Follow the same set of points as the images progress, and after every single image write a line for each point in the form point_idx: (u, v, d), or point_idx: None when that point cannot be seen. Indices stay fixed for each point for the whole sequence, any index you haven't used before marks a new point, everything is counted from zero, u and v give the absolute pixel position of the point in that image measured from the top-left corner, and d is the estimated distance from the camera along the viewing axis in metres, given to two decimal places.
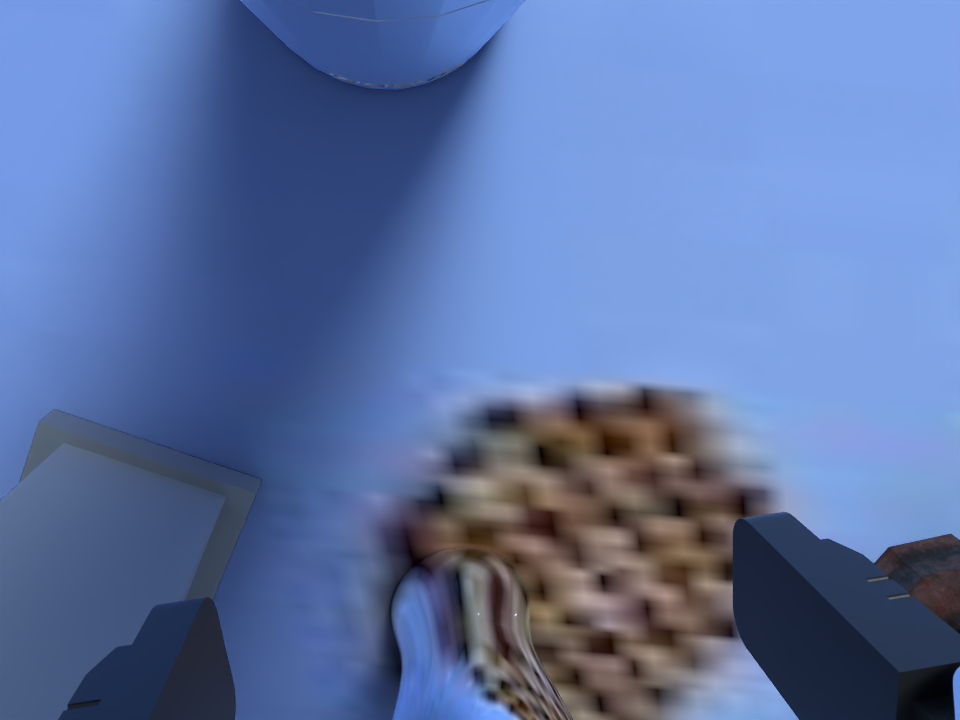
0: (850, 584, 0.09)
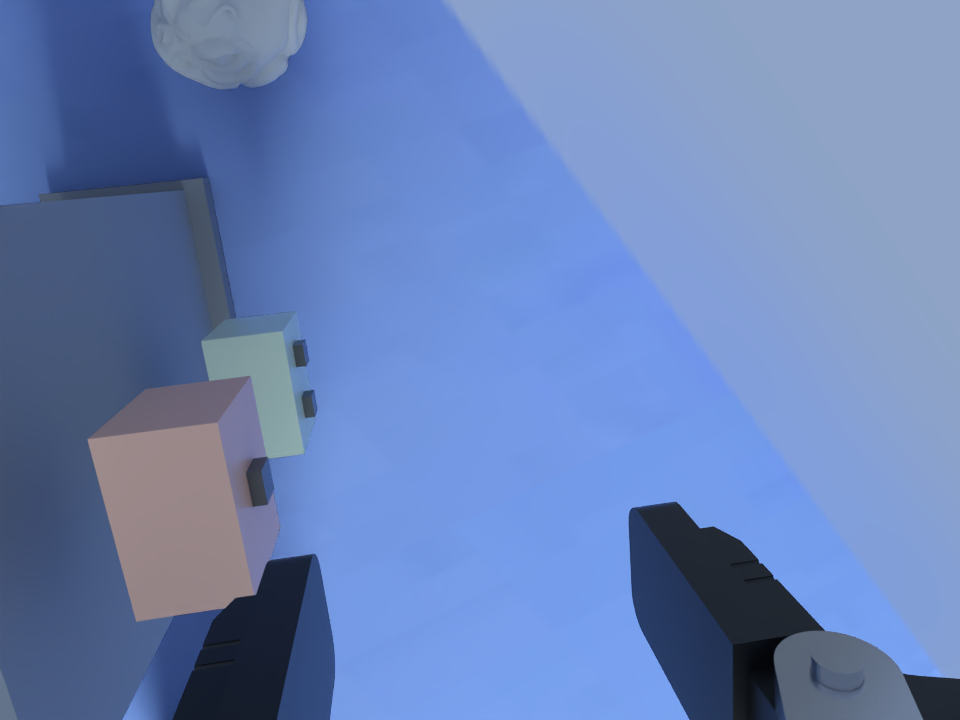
0: (713, 567, 0.09)
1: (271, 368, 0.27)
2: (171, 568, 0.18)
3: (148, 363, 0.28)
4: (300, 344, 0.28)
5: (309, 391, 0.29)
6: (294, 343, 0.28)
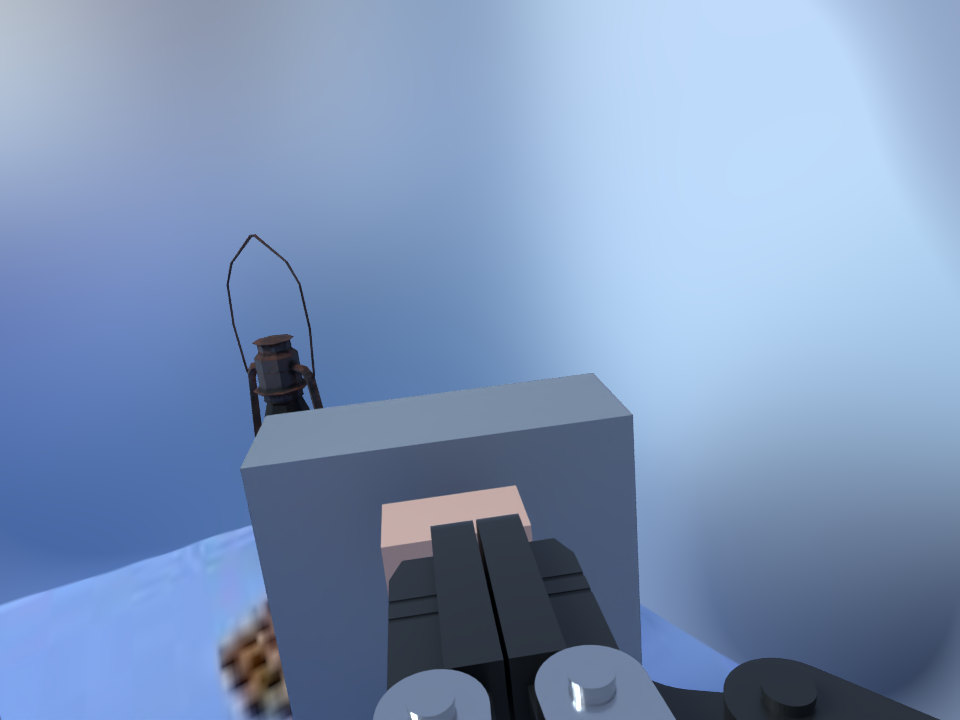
0: (524, 579, 0.09)
1: None
2: (419, 514, 0.25)
3: None
4: None
5: None
6: None
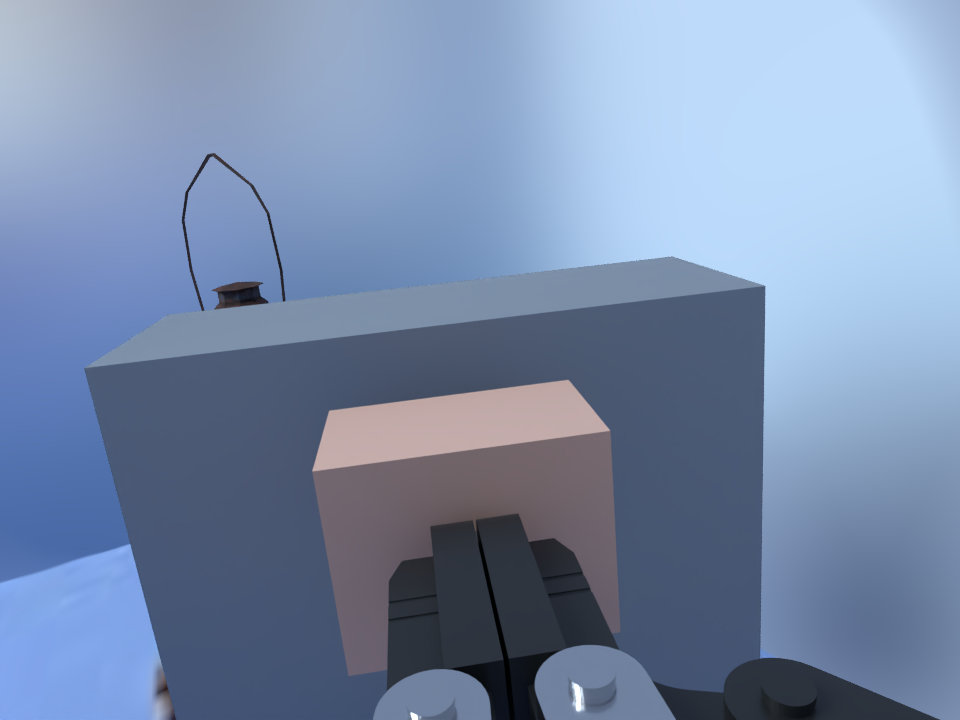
0: (524, 579, 0.09)
1: None
2: (394, 421, 0.13)
3: None
4: None
5: None
6: None
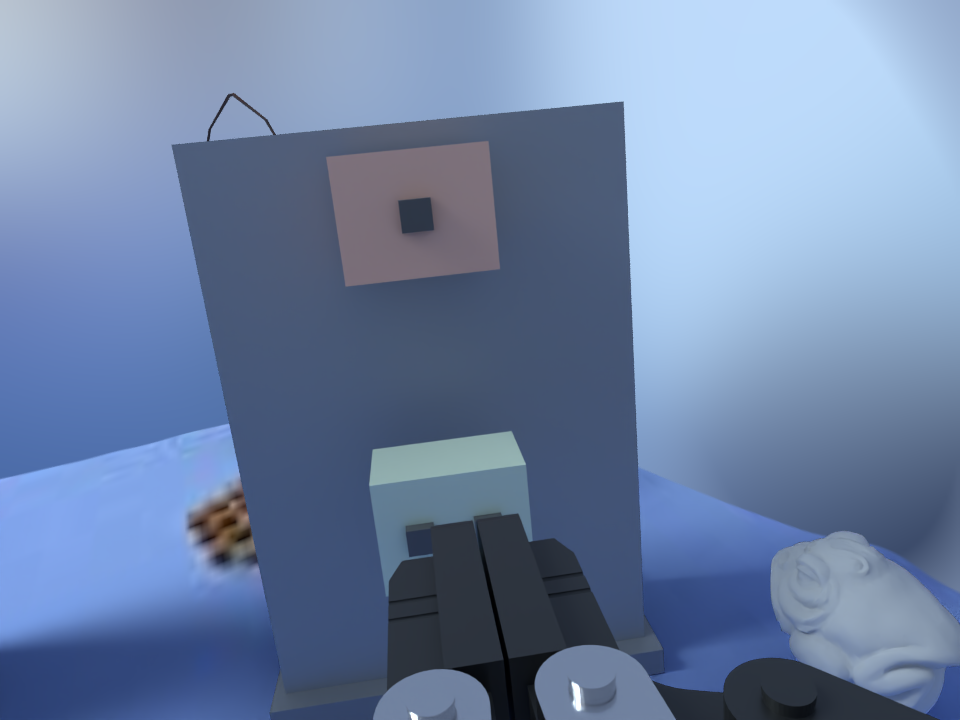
0: (524, 580, 0.09)
1: (481, 462, 0.23)
2: None
3: None
4: None
5: None
6: None
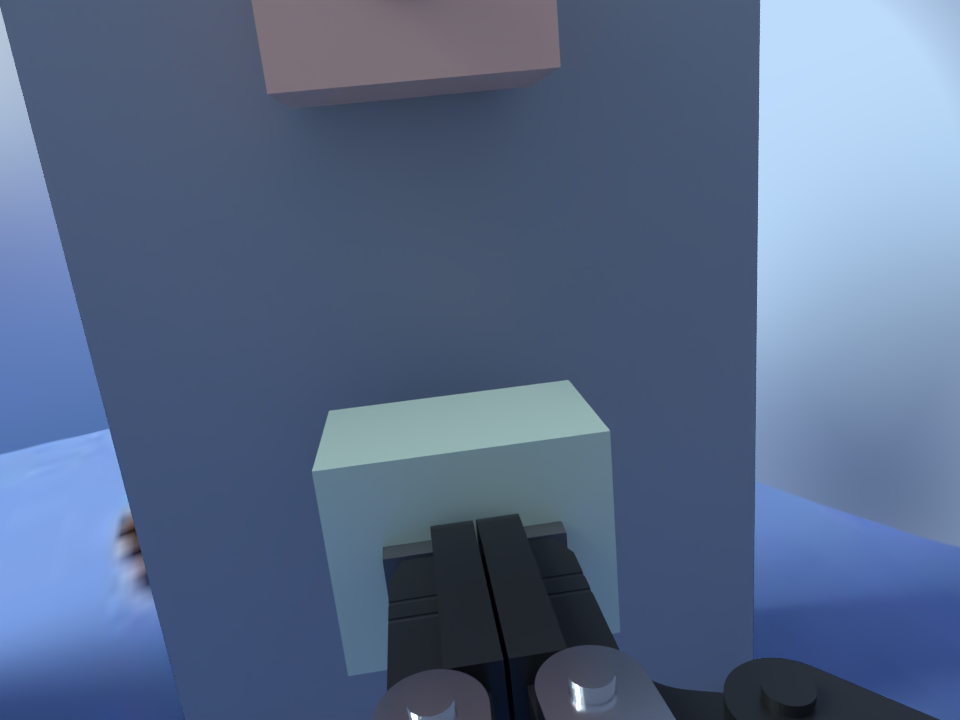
0: (524, 579, 0.09)
1: (523, 428, 0.12)
2: None
3: None
4: (565, 534, 0.12)
5: None
6: None
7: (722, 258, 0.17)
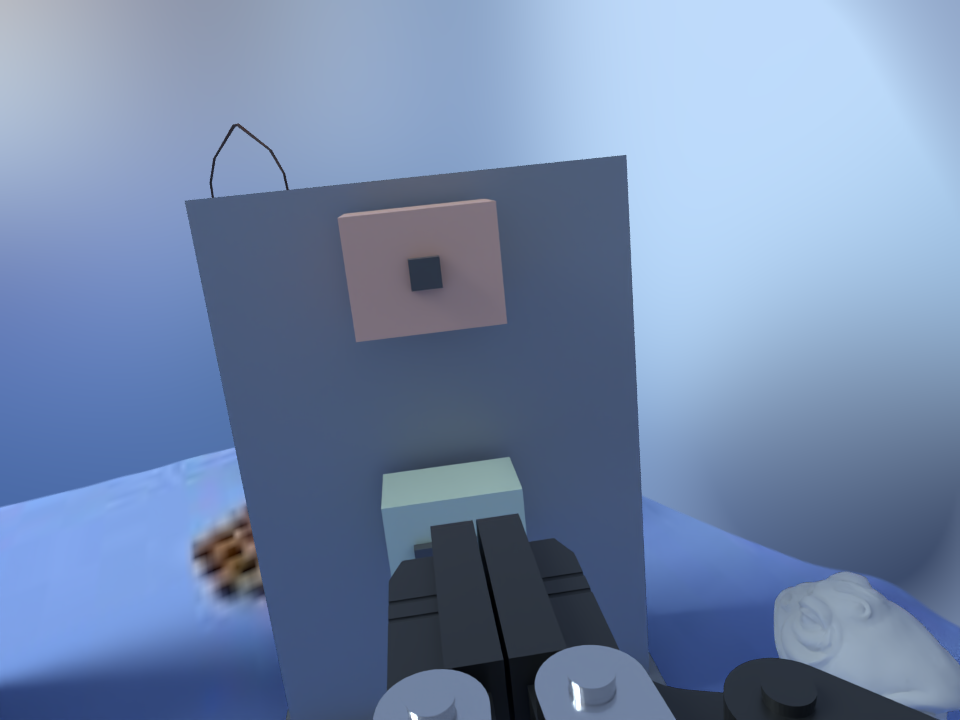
0: (524, 579, 0.09)
1: (481, 486, 0.25)
2: (381, 210, 0.24)
3: None
4: None
5: None
6: None
7: (615, 395, 0.28)
